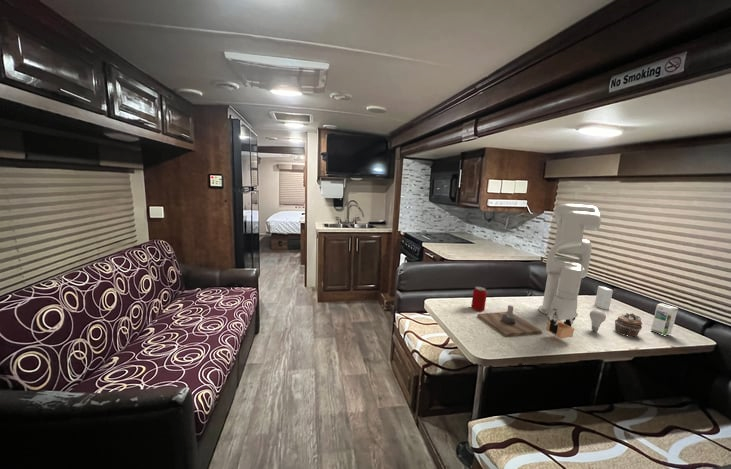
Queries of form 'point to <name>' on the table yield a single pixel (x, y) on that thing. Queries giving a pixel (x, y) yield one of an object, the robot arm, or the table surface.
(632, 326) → the cupcake
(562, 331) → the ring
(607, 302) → the skincare box
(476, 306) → the beverage can
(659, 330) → the syrup box
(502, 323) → the post stand
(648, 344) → the table surface
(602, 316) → the lightbulb
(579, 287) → the robot arm
